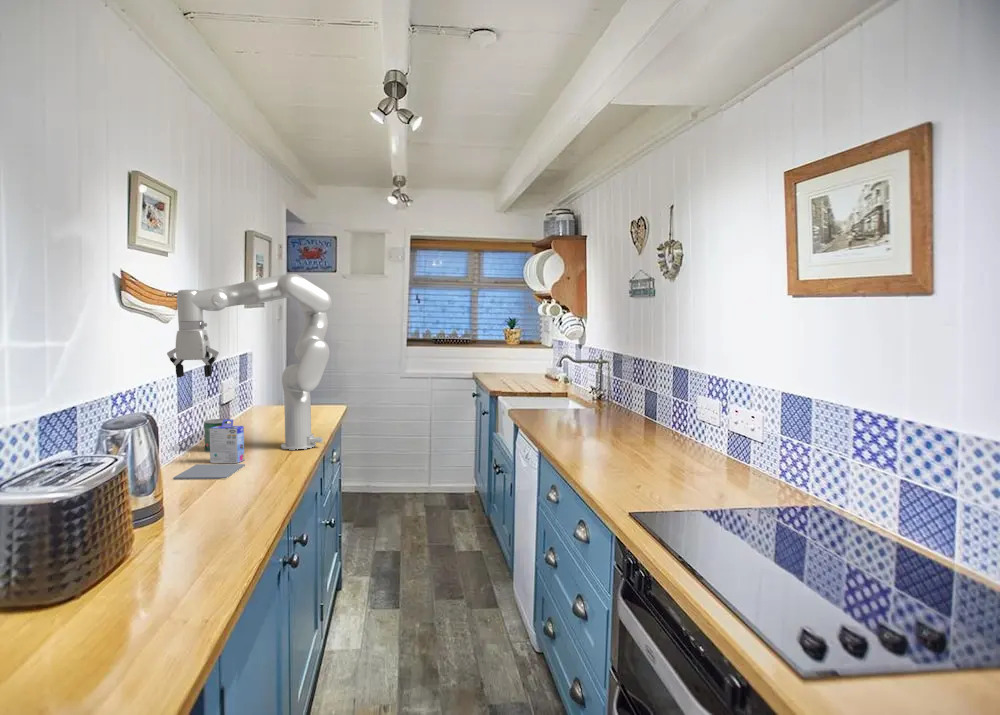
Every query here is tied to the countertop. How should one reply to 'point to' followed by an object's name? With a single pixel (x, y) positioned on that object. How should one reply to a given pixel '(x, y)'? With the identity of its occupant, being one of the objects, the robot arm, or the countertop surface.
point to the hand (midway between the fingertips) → (194, 376)
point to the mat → (209, 471)
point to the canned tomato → (207, 426)
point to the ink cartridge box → (226, 443)
